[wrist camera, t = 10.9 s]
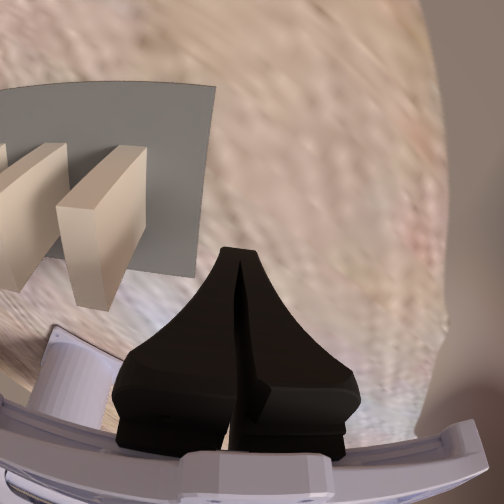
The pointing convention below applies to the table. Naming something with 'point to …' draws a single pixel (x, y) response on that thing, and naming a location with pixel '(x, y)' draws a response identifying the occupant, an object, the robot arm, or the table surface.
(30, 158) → the domino
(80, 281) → the domino
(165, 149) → the slate mat
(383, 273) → the table surface
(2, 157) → the domino
